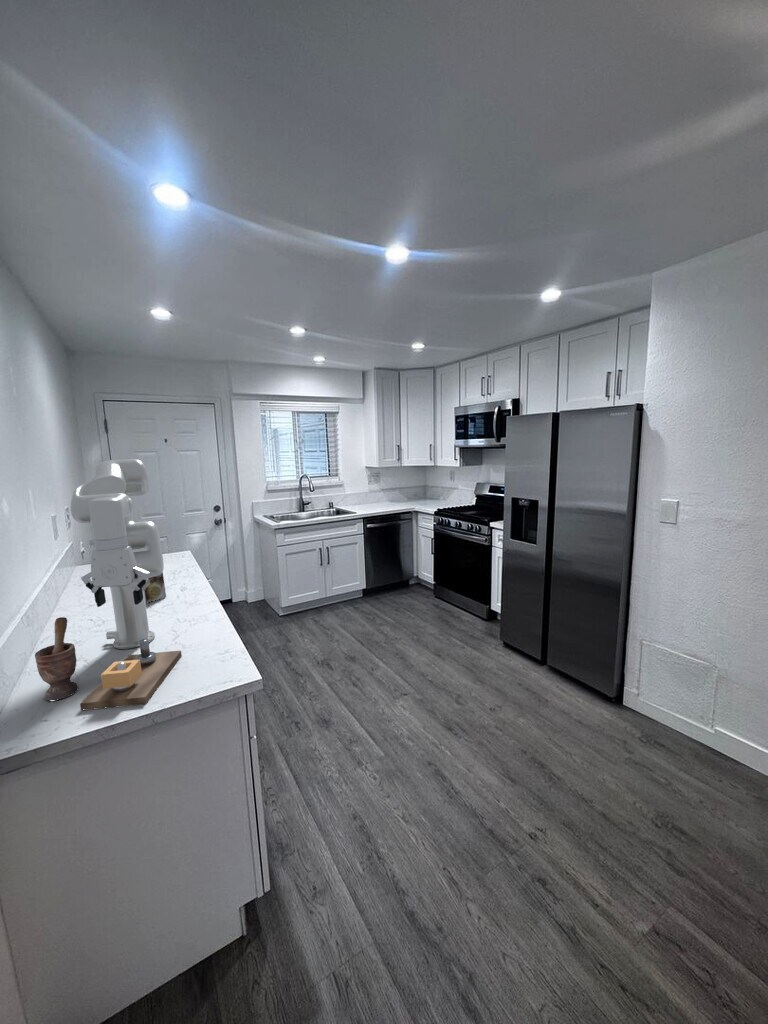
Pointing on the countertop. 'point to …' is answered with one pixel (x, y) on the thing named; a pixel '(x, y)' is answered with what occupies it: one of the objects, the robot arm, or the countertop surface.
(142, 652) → the shiny metal knob
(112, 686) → the collar
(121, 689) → the silver round flared piece
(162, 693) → the countertop surface
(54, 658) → the mortar and pestle
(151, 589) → the coffee box
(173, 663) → the board
